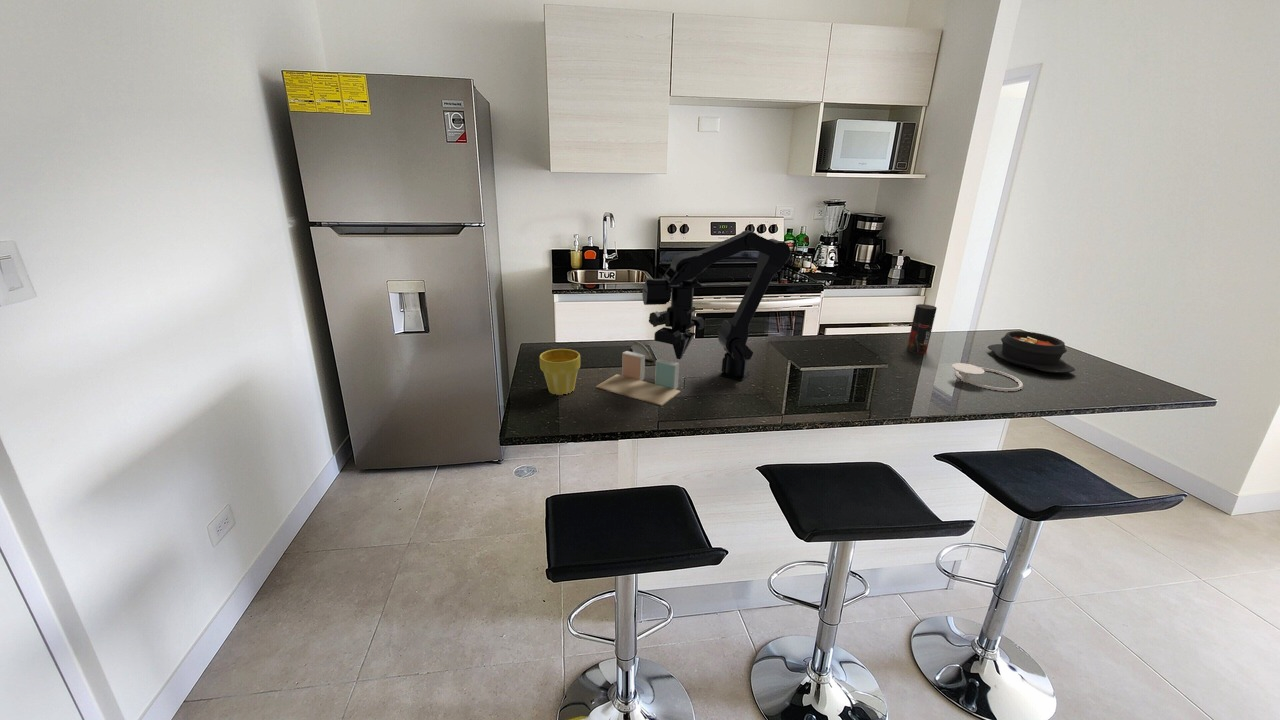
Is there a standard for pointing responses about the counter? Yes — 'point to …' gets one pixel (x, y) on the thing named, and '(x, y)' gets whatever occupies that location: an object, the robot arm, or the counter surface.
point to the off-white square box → (667, 373)
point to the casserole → (1033, 351)
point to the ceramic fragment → (642, 350)
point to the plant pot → (560, 369)
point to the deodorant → (921, 328)
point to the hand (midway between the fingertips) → (678, 358)
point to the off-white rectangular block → (633, 365)
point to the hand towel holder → (975, 370)
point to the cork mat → (638, 389)
